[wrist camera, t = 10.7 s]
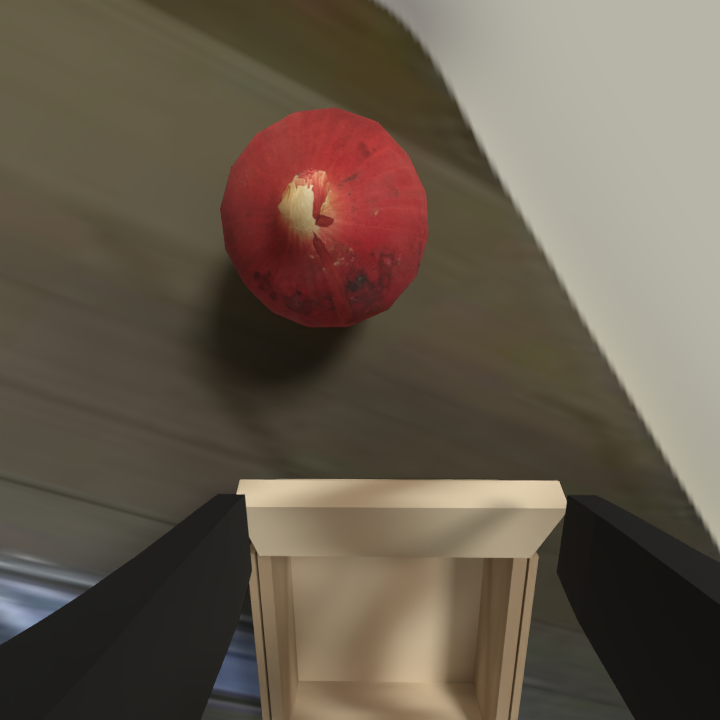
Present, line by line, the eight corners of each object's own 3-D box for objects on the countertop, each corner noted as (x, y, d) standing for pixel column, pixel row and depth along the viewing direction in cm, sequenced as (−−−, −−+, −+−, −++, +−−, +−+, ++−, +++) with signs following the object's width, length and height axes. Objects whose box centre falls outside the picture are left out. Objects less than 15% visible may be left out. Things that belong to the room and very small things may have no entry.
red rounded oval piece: (436, 271, 15) (507, 286, 7) (306, 334, 16) (248, 406, 8) (372, 122, 14) (378, -48, 6) (234, 197, 15) (85, 131, 7)
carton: (283, 679, 21) (266, 762, 17) (268, 478, 18) (244, 531, 14) (487, 682, 20) (511, 766, 17) (507, 479, 17) (541, 532, 14)
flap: (232, 506, 11) (240, 479, 11) (259, 555, 13) (263, 531, 14) (569, 508, 10) (558, 480, 11) (530, 558, 13) (523, 533, 13)
